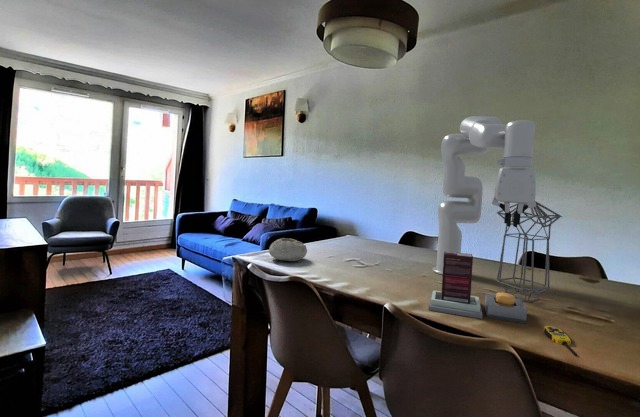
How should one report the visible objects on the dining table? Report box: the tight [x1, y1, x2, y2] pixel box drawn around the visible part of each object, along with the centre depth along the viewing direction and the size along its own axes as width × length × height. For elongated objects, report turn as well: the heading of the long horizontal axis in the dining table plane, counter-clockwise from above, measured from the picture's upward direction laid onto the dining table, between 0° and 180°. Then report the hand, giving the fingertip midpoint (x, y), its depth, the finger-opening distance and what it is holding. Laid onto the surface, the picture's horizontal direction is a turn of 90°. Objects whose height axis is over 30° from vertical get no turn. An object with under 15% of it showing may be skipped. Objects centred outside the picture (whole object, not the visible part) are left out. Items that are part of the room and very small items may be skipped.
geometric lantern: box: [496, 200, 563, 303], centre depth 121 cm, size 16×16×35 cm
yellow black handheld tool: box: [543, 325, 578, 357], centre depth 87 cm, size 5×2×15 cm
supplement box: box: [441, 252, 474, 304], centre depth 109 cm, size 9×5×16 cm, turn 70°
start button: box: [495, 292, 516, 306], centre depth 104 cm, size 5×5×3 cm
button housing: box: [484, 293, 528, 324], centre depth 104 cm, size 10×10×4 cm
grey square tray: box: [428, 289, 483, 320], centre depth 109 cm, size 14×15×3 cm
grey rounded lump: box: [268, 237, 308, 262], centre depth 163 cm, size 18×18×10 cm
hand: (511, 226), depth 102 cm, fingers closed
